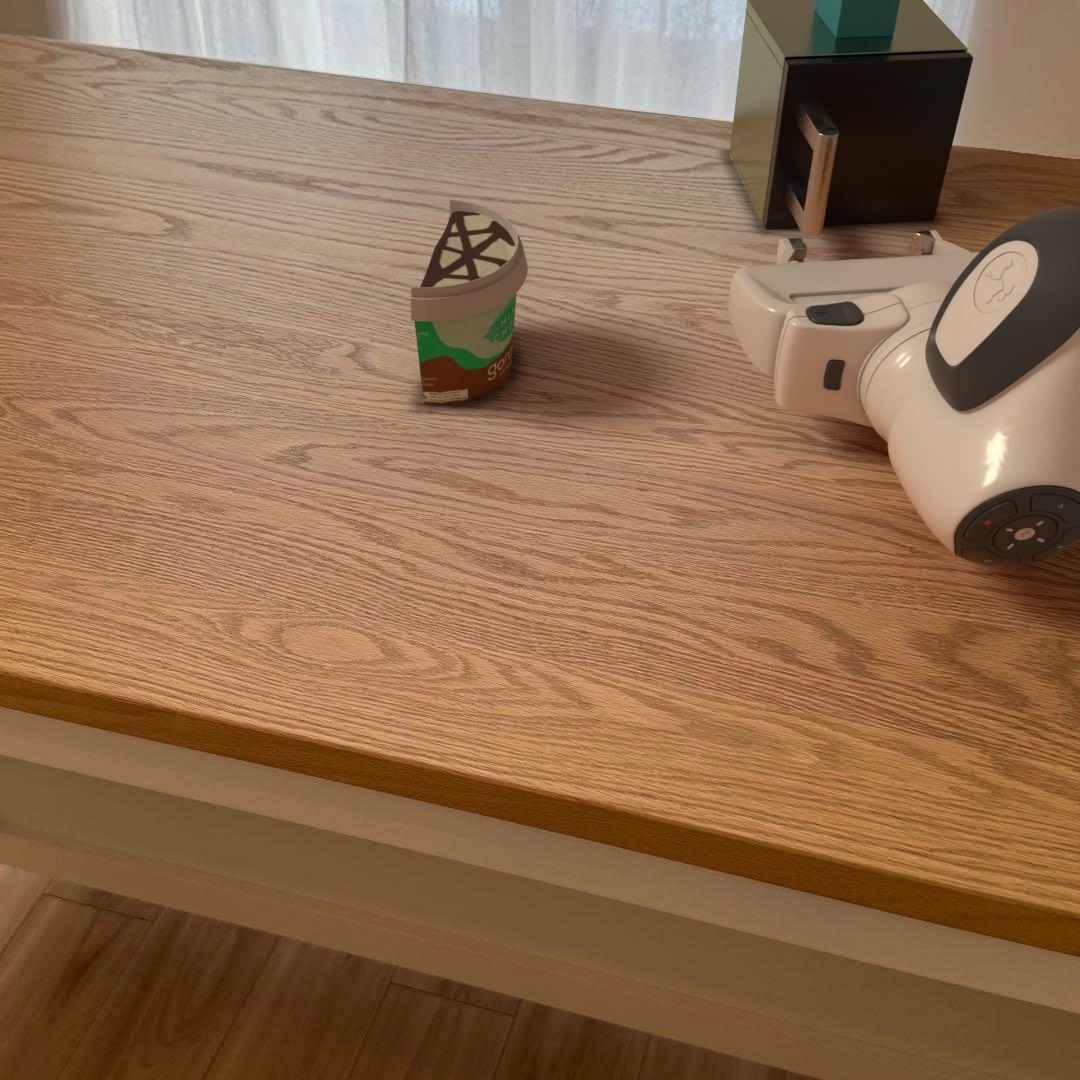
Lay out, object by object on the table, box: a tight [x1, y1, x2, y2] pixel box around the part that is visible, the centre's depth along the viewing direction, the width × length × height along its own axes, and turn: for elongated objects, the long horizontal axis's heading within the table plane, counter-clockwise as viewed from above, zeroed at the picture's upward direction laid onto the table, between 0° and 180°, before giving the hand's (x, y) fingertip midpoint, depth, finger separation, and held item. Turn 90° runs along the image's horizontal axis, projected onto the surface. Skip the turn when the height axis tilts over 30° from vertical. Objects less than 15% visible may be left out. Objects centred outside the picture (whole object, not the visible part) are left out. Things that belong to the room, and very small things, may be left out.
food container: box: [410, 199, 529, 406], centre depth 82 cm, size 12×6×10 cm, turn 171°
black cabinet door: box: [762, 51, 974, 237], centre depth 94 cm, size 7×14×14 cm, turn 96°
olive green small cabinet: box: [729, 0, 969, 223], centre depth 101 cm, size 12×14×14 cm
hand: (855, 243), depth 85 cm, fingers open, 8 cm apart
